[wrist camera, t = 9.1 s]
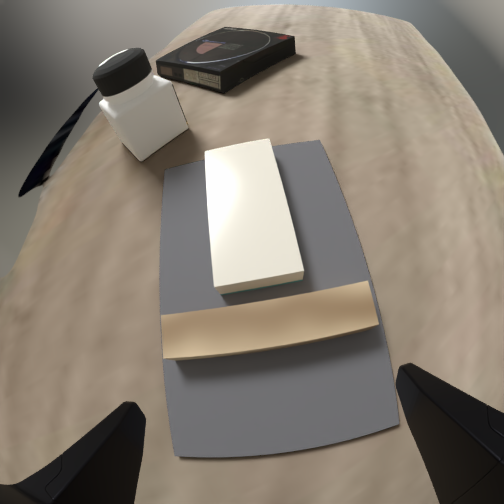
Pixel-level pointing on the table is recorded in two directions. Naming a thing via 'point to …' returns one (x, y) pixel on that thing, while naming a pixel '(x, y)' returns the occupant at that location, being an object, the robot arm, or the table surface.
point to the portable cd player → (225, 57)
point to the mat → (279, 360)
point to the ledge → (269, 323)
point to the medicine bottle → (138, 103)
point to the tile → (249, 220)
